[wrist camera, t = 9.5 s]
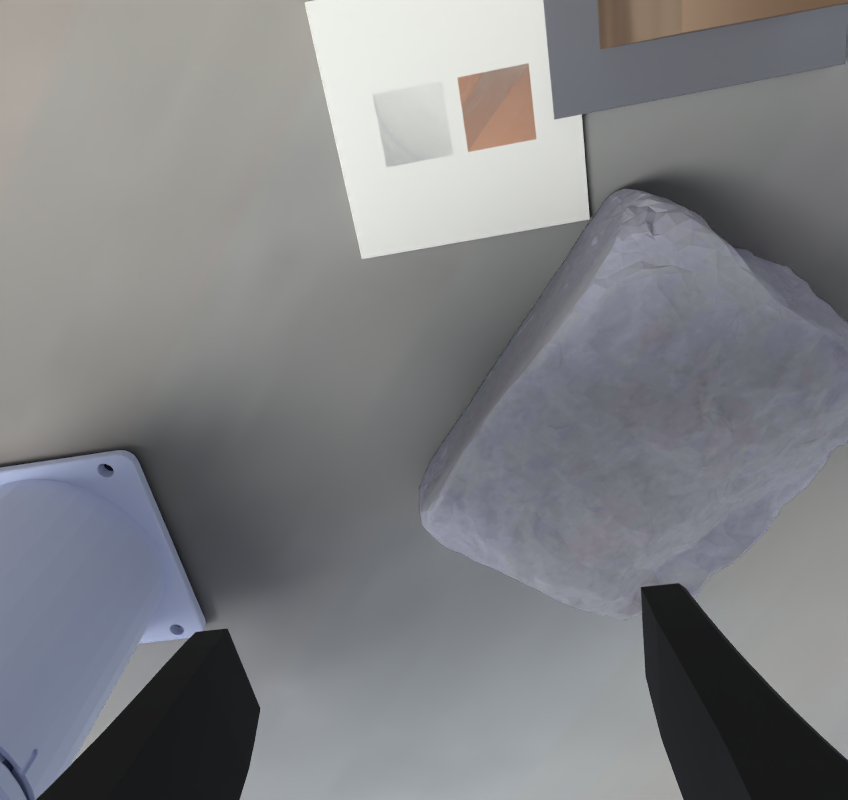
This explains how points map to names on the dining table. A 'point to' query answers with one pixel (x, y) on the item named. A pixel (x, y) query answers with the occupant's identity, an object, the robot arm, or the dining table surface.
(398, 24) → the cream tile
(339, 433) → the dining table surface
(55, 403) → the dining table surface
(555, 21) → the charcoal mat
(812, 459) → the stone block
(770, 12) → the walnut block
